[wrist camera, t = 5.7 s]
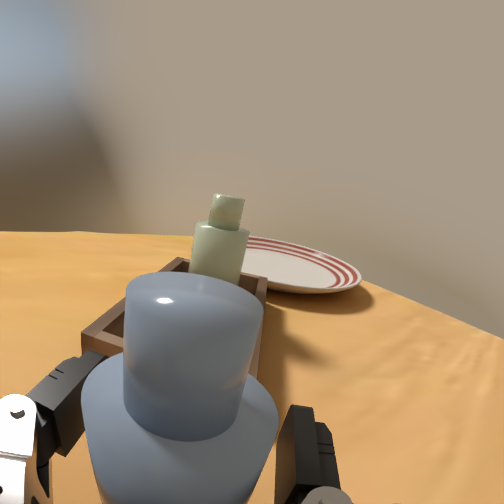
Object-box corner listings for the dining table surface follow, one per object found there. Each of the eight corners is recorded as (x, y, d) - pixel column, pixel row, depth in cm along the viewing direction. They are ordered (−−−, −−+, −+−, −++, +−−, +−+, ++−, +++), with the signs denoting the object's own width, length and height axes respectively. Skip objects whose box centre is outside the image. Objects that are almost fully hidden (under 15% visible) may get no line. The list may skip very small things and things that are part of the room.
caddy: (82, 370, 18) (80, 332, 17) (173, 280, 38) (177, 257, 38) (245, 420, 17) (255, 383, 17) (262, 301, 38) (267, 277, 37)
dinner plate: (233, 312, 34) (239, 283, 33) (172, 243, 57) (175, 225, 56) (388, 305, 47) (395, 285, 46) (294, 254, 70) (298, 239, 70)
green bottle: (177, 305, 30) (196, 191, 28) (191, 288, 35) (208, 190, 33) (229, 318, 30) (254, 203, 28) (236, 299, 35) (257, 200, 33)
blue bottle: (91, 545, 7) (21, 305, 4) (130, 466, 12) (136, 246, 9) (221, 583, 7) (329, 394, 4) (235, 495, 12) (303, 285, 9)
